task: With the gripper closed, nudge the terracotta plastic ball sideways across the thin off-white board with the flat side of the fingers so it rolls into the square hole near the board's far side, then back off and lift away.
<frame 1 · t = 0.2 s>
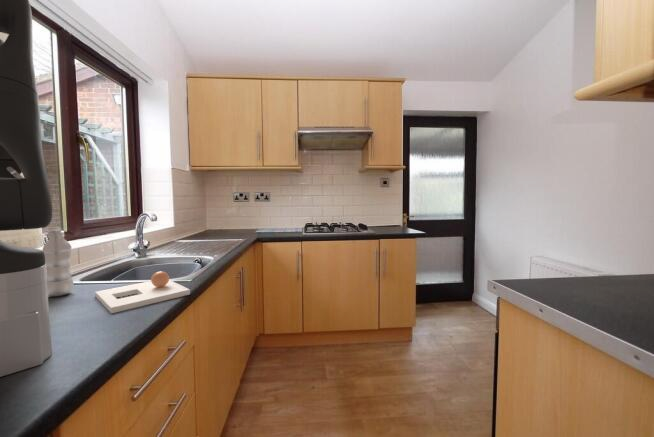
hand: (5, 201, 81), 29 cm above the countertop, fingers open, 8 cm apart
plastic bottle: (60, 295, 91), on the countertop
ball: (160, 279, 93), point 4 cm above the countertop, touching deck
deck: (143, 295, 90), on the countertop
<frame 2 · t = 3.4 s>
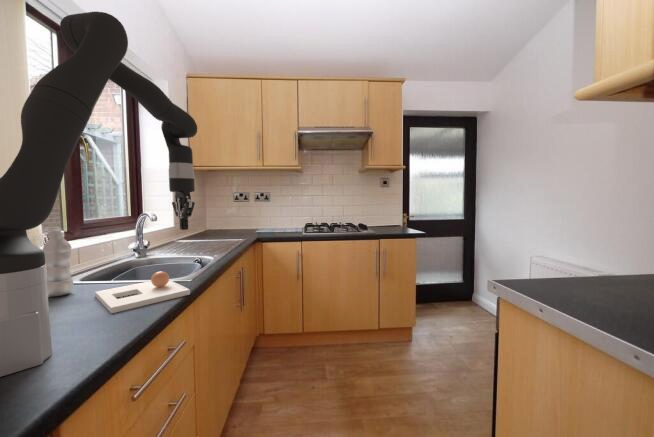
hand: (184, 229, 98), 19 cm above the countertop, fingers closed
nothing on the countertop moved.
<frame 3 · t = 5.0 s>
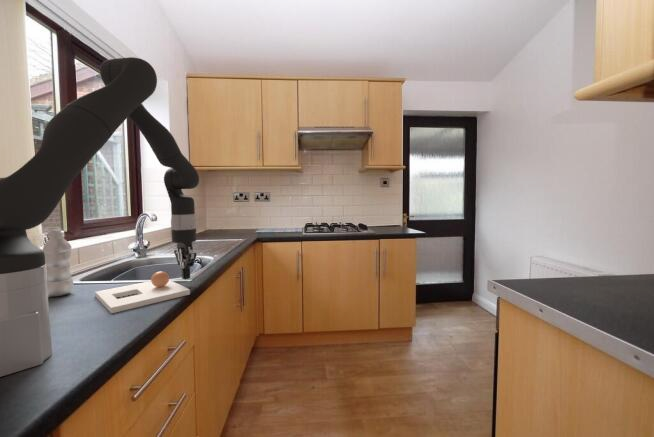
hand: (186, 278, 99), 3 cm above the countertop, fingers closed
nothing on the countertop moved.
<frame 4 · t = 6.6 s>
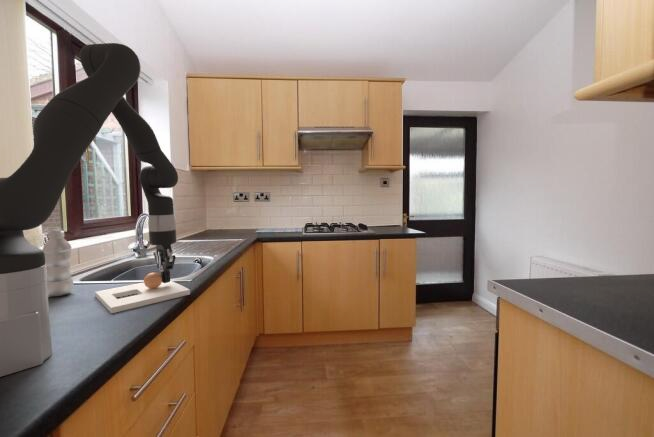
hand: (165, 282, 94), 3 cm above the countertop, fingers closed
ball: (153, 280, 92), point 4 cm above the countertop, tilted 39°, touching deck, gripper
everything else where it was.
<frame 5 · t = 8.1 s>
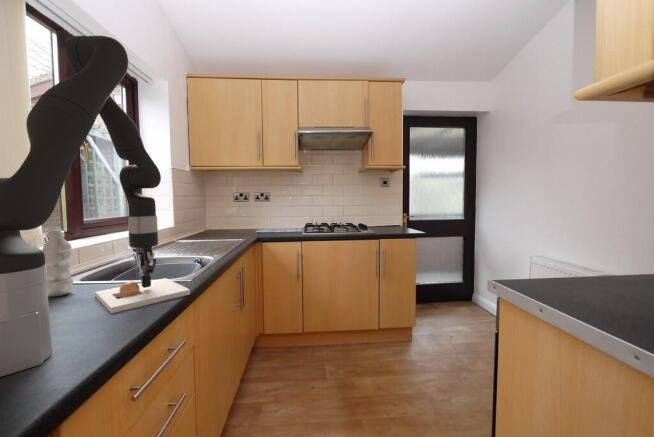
hand: (146, 286, 90), 2 cm above the countertop, fingers closed
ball: (129, 289, 87), point 2 cm above the countertop, tilted 151°
everything else where it was.
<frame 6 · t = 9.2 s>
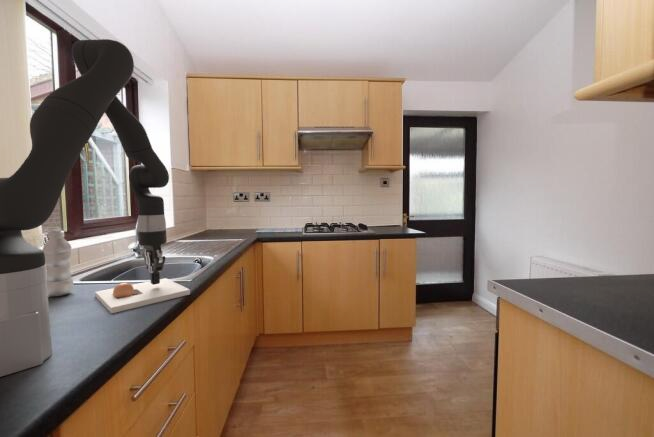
hand: (155, 283, 93), 3 cm above the countertop, fingers closed
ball: (123, 291, 86), point 2 cm above the countertop, tilted 170°
everything else where it was.
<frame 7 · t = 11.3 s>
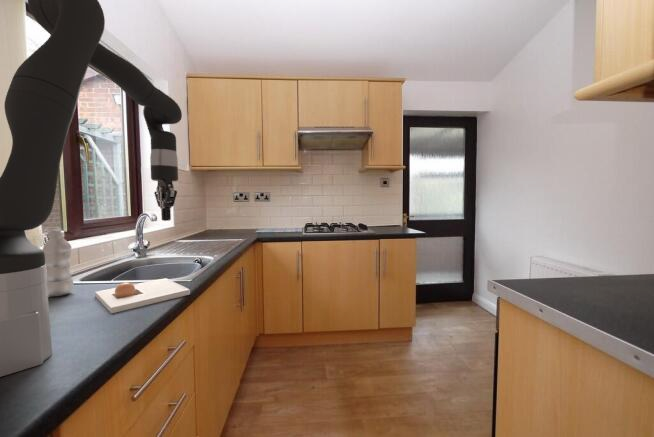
hand: (166, 220, 93), 23 cm above the countertop, fingers closed
nothing on the countertop moved.
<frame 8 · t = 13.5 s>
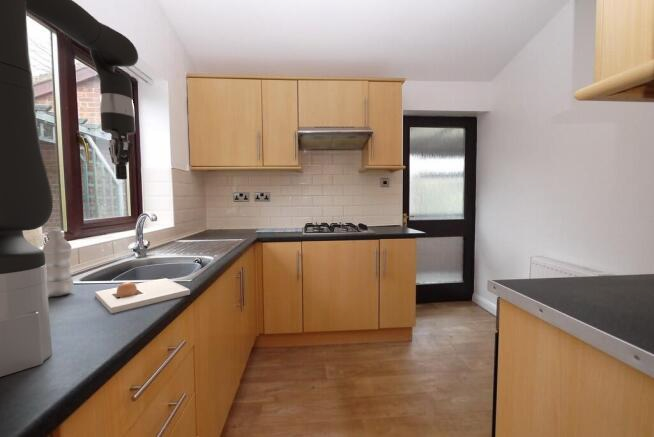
hand: (121, 179, 80), 35 cm above the countertop, fingers closed
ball: (127, 290, 87), point 2 cm above the countertop, tilted 165°
everything else where it was.
at the end: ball 0.1 cm from the target spot on the deck, point 2.5 cm above the deck's base; the gripper is holding nothing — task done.
